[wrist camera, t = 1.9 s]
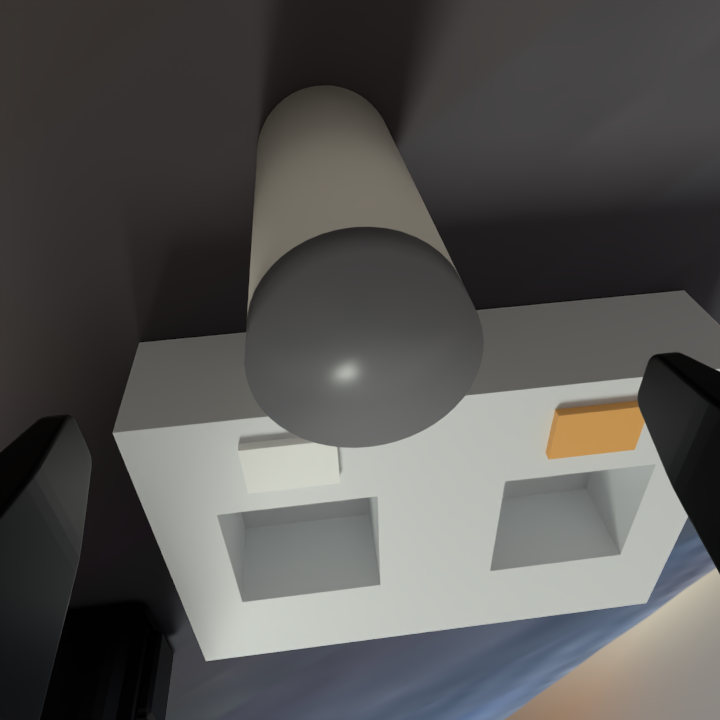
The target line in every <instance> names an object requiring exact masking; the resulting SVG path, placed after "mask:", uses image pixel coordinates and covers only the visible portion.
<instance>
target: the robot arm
mask: <svg viewBox="0 0 720 720" xmlns="http://www.w3.org/2000/svg"><path fill="white" fill-rule="evenodd" d="M637 400H638V406H639V409H640V412H641V414H642V416H643V419H644V421H645V424H646V426H647V428H648V431H649V433H650V436H651V438H652V441H653V443H654V445H655V448H656V450H657V453H658V455H659V457H660V460H661V462H662V465H663V467H664V469H665V472H666V474H667V476H668V479H669V481H670V483H671V485H672V487H673V489H674V491H675V493H676V495H677V497H678V499H679V501H680V503H681V505H682V506H683V508H684V510H685V512H686V514H687V515H688V517H689V519H690V521H691V523H692V524H693V526H694V528H695V530H696V532H697V534H698V535H699V537H700V539H701V541H702V543H703V544H704V546H705V548H706V550H707V552H708V553H709V555H710V557H711V559H712V561H713V562H714V564H715V566H716V568H717V570H718V572H719V573H720V371H718V370H716V369H713V368H711V367H709V366H707V365H705V364H703V363H701V362H699V361H697V360H695V359H693V358H691V357H689V356H687V355H684V354H682V353H679V352H671V353H661V354H655V355H653V356H652V357H651V358H650V359H649V361H648V363H647V366H646V369H645V372H644V376H643V379H642V382H641V385H640V388H639V391H638V397H637ZM90 475H91V455H90V452H89V449H88V447H87V445H86V443H85V440H84V438H83V436H82V434H81V432H80V429H79V427H78V425H77V423H76V421H75V419H74V418H73V417H72V416H70V415H57V416H47V417H43V418H41V419H39V420H38V421H36V422H35V423H34V424H33V425H32V426H31V427H29V428H28V429H27V430H26V431H25V432H24V433H22V434H21V435H20V436H19V437H18V438H17V439H15V440H14V441H13V442H12V443H11V444H10V445H8V446H7V447H6V448H5V449H4V450H3V451H1V452H0V720H165V716H166V708H167V700H168V693H169V685H170V677H171V670H172V662H173V653H172V651H171V649H170V647H169V645H168V643H167V641H166V639H165V636H164V634H163V633H162V632H161V631H160V630H158V628H157V625H156V623H155V621H154V619H153V617H152V615H151V613H150V611H149V609H148V607H147V606H146V605H144V604H140V603H135V604H127V605H119V606H111V607H103V608H95V609H87V610H79V611H71V612H67V609H68V605H69V601H70V597H71V593H72V589H73V585H74V581H75V577H76V572H77V568H78V563H79V559H80V553H81V546H82V539H83V531H84V523H85V515H86V507H87V499H88V491H89V483H90Z"/></svg>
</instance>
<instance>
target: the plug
mask: <svg viewBox="0 0 720 720" xmlns="http://www.w3.org/2000/svg"><path fill="white" fill-rule="evenodd" d="M483 345H484V338H483V331H482V325H481V322H480V319H479V316H478V313H477V311H476V309H475V307H474V305H473V303H472V301H471V299H470V297H469V295H468V293H467V291H466V289H465V287H464V285H463V283H462V280H461V278H460V276H459V274H458V272H457V270H456V268H455V266H454V264H453V262H452V260H451V258H450V256H449V254H448V252H447V250H446V248H445V246H444V243H443V241H442V239H441V237H440V235H439V233H438V231H437V229H436V227H435V225H434V223H433V221H432V219H431V217H430V215H429V213H428V211H427V208H426V206H425V204H424V202H423V200H422V198H421V196H420V194H419V192H418V190H417V188H416V186H415V184H414V182H413V180H412V178H411V176H410V173H409V171H408V169H407V167H406V165H405V163H404V161H403V159H402V157H401V155H400V153H399V151H398V149H397V147H396V145H395V143H394V141H393V139H392V136H391V134H390V132H389V130H388V128H387V126H386V124H385V122H384V120H383V118H382V117H381V115H380V114H379V112H378V111H377V110H376V109H375V108H374V106H373V105H372V104H371V103H370V102H368V101H367V100H366V99H365V98H363V97H362V96H360V95H359V94H357V93H355V92H353V91H351V90H348V89H345V88H342V87H338V86H331V85H319V86H312V87H308V88H304V89H301V90H299V91H297V92H294V93H292V94H291V95H289V96H288V97H286V98H285V99H283V100H282V101H281V102H280V103H279V104H277V106H276V107H275V108H274V109H273V110H272V111H271V113H270V114H269V116H268V117H267V119H266V120H265V122H264V124H263V127H262V129H261V132H260V135H259V140H258V147H257V163H256V180H255V196H254V212H253V228H252V245H251V261H250V277H249V293H248V310H247V326H246V342H245V359H244V365H245V374H246V378H247V382H248V385H249V388H250V390H251V392H252V395H253V397H254V399H255V400H256V402H257V403H258V405H259V406H260V408H261V409H262V410H263V411H264V412H265V413H266V414H267V415H268V417H269V418H270V419H272V420H273V421H274V422H275V423H277V424H278V425H279V426H280V427H282V428H284V429H285V430H287V431H288V432H290V433H292V434H294V435H296V436H298V437H300V438H303V439H305V440H308V441H311V442H314V443H318V444H323V445H327V446H334V447H343V448H361V447H373V446H379V445H385V444H389V443H392V442H396V441H399V440H402V439H405V438H408V437H411V436H413V435H415V434H417V433H419V432H421V431H423V430H425V429H427V428H429V427H430V426H432V425H434V424H435V423H437V422H438V421H439V420H441V419H442V418H443V417H445V416H446V415H447V414H448V413H449V412H450V411H452V410H453V409H454V408H455V407H456V406H457V405H458V403H459V402H460V401H461V400H462V399H463V398H464V396H465V395H466V394H467V392H468V391H469V389H470V388H471V386H472V384H473V382H474V380H475V378H476V376H477V374H478V371H479V368H480V365H481V361H482V356H483Z"/></svg>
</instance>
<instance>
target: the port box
mask: <svg viewBox="0 0 720 720" xmlns="http://www.w3.org/2000/svg"><path fill="white" fill-rule="evenodd" d="M476 311H477V313H478V316H479V319H480V322H481V325H482V331H483V338H484V345H483V356H482V361H481V365H480V368H479V371H478V374H477V376H476V378H475V380H474V382H473V384H472V386H471V388H470V389H469V391H468V392H467V394H466V395H465V396H464V398H463V399H462V400H461V401H460V402H459V403H458V405H457V406H456V407H455V408H454V409H453V410H452V411H450V412H449V413H448V414H447V415H446V416H445V417H443V418H442V419H441V420H439V421H438V422H437V423H435V424H434V425H432V426H430V427H429V428H427V429H425V430H423V431H421V432H419V433H417V434H415V435H413V436H411V437H408V438H405V439H402V440H399V441H396V442H392V443H389V444H385V445H379V446H373V447H361V448H343V447H334V446H327V445H323V444H318V443H314V442H311V441H308V440H305V439H303V438H300V437H298V436H296V435H294V434H292V433H290V432H288V431H287V430H285V429H284V428H282V427H280V426H279V425H278V424H277V423H275V422H274V421H273V420H272V419H270V418H269V417H268V415H267V414H266V413H265V412H264V411H263V410H262V409H261V408H260V406H259V405H258V403H257V402H256V400H255V399H254V397H253V395H252V392H251V390H250V388H249V385H248V382H247V378H246V374H245V365H244V359H245V342H246V332H244V333H233V334H223V335H213V336H202V337H192V338H181V339H171V340H161V341H150V342H140V343H139V345H138V348H137V352H136V355H135V358H134V362H133V365H132V369H131V372H130V375H129V379H128V382H127V385H126V389H125V392H124V395H123V399H122V402H121V406H120V409H119V412H118V416H117V419H116V422H115V426H114V429H113V436H114V438H115V440H116V443H117V445H118V448H119V450H120V453H121V455H122V458H123V460H124V462H125V465H126V467H127V470H128V472H129V475H130V477H131V479H132V482H133V484H134V487H135V489H136V492H137V494H138V497H139V499H140V501H141V504H142V506H143V509H144V511H145V514H146V516H147V519H148V521H149V523H150V526H151V528H152V531H153V533H154V536H155V538H156V540H157V543H158V545H159V548H160V550H161V553H162V555H163V558H164V560H165V562H166V565H167V567H168V570H169V572H170V575H171V577H172V579H173V582H174V584H175V587H176V589H177V592H178V594H179V597H180V599H181V601H182V604H183V606H184V609H185V611H186V614H187V616H188V618H189V621H190V623H191V626H192V628H193V631H194V633H195V636H196V638H197V640H198V643H199V645H200V648H201V650H202V653H203V655H204V657H205V660H206V661H210V660H218V659H226V658H233V657H241V656H248V655H256V654H263V653H271V652H279V651H286V650H294V649H301V648H309V647H317V646H324V645H332V644H339V643H347V642H355V641H362V640H370V639H377V638H385V637H393V636H400V635H408V634H415V633H423V632H430V631H438V630H446V629H453V628H461V627H468V626H476V625H484V624H491V623H499V622H506V621H514V620H522V619H529V618H537V617H544V616H552V615H559V614H567V613H575V612H582V611H590V610H597V609H605V608H613V607H620V606H628V605H635V604H643V603H647V601H648V599H649V597H650V595H651V592H652V590H653V588H654V586H655V584H656V582H657V580H658V578H659V576H660V574H661V572H662V570H663V567H664V565H665V563H666V561H667V559H668V557H669V555H670V553H671V551H672V549H673V547H674V544H675V542H676V540H677V538H678V536H679V534H680V532H681V530H682V528H683V526H684V524H685V521H686V519H687V517H688V515H687V514H686V512H685V510H684V508H683V506H682V505H681V503H680V501H679V499H678V497H677V495H676V493H675V491H674V489H673V487H672V485H671V483H670V481H669V479H668V476H667V474H666V472H665V469H664V467H663V465H662V462H661V460H660V457H659V455H658V453H657V450H656V448H655V445H654V443H653V441H652V438H651V436H650V433H649V431H648V428H647V426H646V424H645V421H644V419H643V416H642V414H641V412H640V409H639V406H638V400H637V397H638V391H639V388H640V385H641V382H642V379H643V376H644V372H645V369H646V366H647V363H648V361H649V359H650V358H651V357H652V356H653V355H655V354H661V353H671V352H679V353H682V354H684V355H687V356H689V357H691V358H693V359H695V360H697V361H699V362H701V363H703V364H705V365H707V366H709V367H711V368H713V369H716V370H718V371H720V325H719V324H718V323H717V322H716V321H715V320H714V319H713V318H712V317H711V316H710V315H709V314H708V313H707V312H706V311H705V310H704V309H703V308H702V307H701V306H700V305H699V304H698V303H697V302H696V301H695V300H694V299H692V298H691V297H690V296H689V295H688V294H687V293H686V292H685V291H684V290H682V291H671V292H661V293H650V294H640V295H629V296H619V297H609V298H598V299H588V300H577V301H567V302H556V303H546V304H536V305H525V306H515V307H504V308H494V309H484V310H476Z"/></svg>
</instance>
